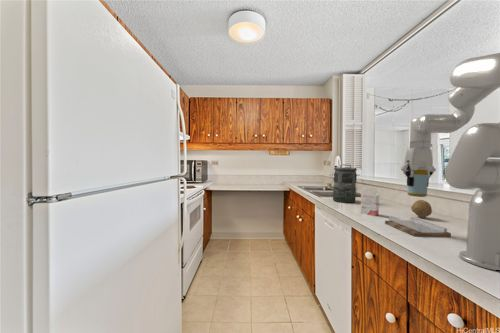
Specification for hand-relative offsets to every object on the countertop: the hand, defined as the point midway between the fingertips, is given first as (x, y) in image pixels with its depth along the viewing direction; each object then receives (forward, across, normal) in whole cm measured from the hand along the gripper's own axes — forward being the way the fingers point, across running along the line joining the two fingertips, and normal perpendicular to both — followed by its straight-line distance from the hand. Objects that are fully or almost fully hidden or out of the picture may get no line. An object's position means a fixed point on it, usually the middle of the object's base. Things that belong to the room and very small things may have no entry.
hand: (417, 185), depth 101 cm
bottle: (+5, 0, 0) cm, 5 cm away
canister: (+20, 0, -69) cm, 72 cm away
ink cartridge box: (+20, +4, -29) cm, 35 cm away
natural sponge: (+20, -22, -23) cm, 38 cm away
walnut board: (+20, 0, 0) cm, 20 cm away
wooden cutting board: (+18, 0, 0) cm, 18 cm away
